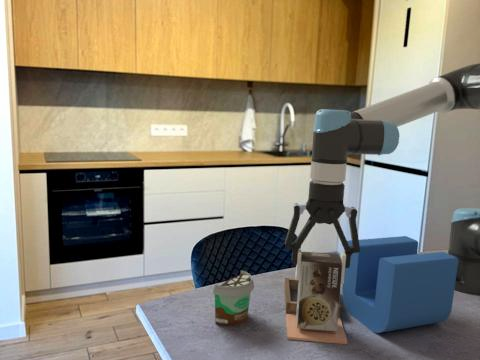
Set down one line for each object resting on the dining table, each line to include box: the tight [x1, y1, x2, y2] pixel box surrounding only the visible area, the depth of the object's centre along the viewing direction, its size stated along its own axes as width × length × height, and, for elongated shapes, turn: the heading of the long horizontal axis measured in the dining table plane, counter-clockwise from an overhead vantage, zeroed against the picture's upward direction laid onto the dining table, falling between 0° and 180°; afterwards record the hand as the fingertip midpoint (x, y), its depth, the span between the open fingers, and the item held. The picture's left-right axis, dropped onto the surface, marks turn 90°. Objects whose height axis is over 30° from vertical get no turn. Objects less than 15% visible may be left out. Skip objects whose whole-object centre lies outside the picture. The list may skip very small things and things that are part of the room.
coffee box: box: [296, 251, 342, 331], centre depth 104 cm, size 9×6×16 cm
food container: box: [212, 269, 255, 327], centre depth 107 cm, size 12×6×10 cm, turn 148°
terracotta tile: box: [285, 313, 349, 345], centre depth 105 cm, size 13×11×1 cm
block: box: [341, 235, 458, 334], centre depth 111 cm, size 18×18×18 cm
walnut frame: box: [283, 277, 341, 319], centre depth 119 cm, size 13×16×3 cm
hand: (319, 279), depth 103 cm, fingers closed on coffee box, 9 cm apart
